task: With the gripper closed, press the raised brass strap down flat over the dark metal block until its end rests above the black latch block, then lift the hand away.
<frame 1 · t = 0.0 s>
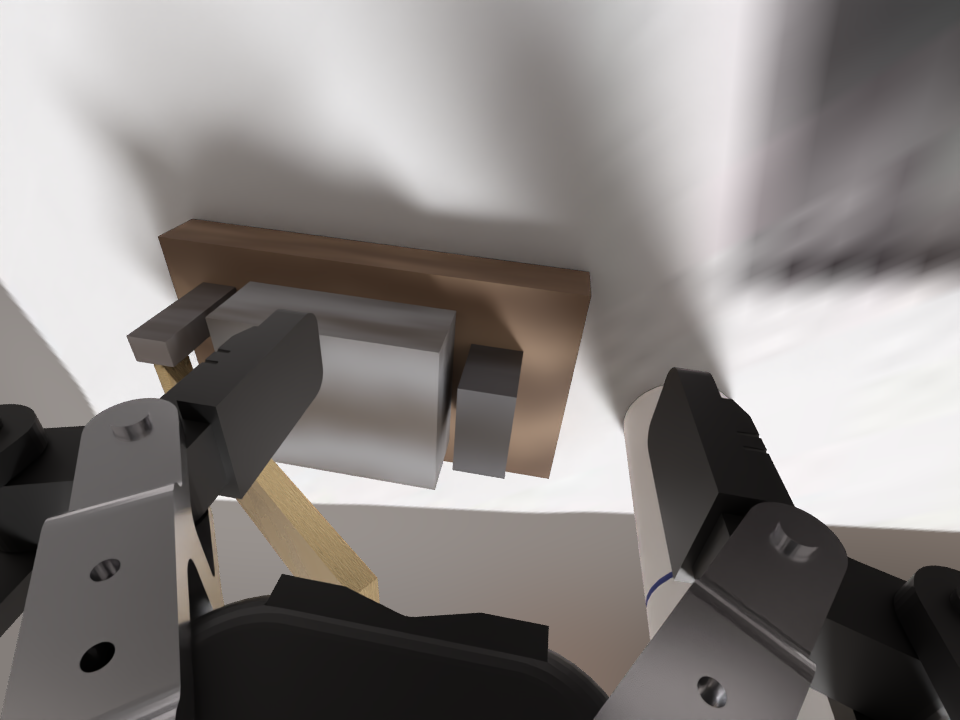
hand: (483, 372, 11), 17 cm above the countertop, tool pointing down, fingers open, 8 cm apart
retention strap: (254, 483, 22), point 13 cm above the countertop, hinge at 35.0°
cylindrical container: (678, 422, 33), on the countertop
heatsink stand: (387, 343, 33), on the countertop
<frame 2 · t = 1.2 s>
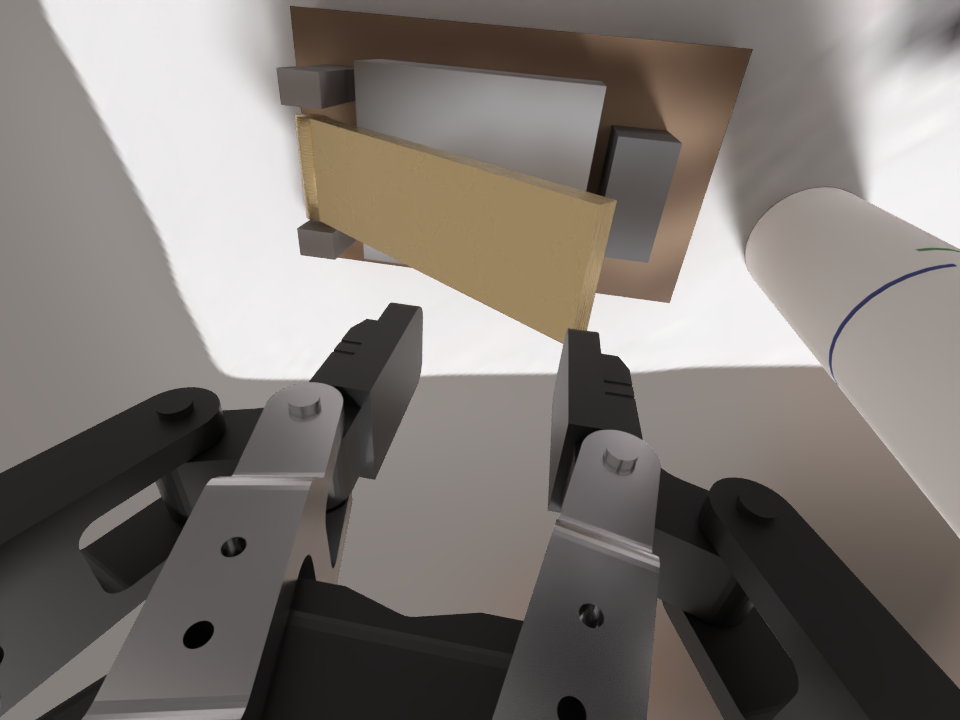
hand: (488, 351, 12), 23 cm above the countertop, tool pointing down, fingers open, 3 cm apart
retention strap: (417, 209, 21), point 13 cm above the countertop, hinge at 35.0°
cylindrical container: (804, 243, 32), on the countertop
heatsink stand: (503, 159, 31), on the countertop
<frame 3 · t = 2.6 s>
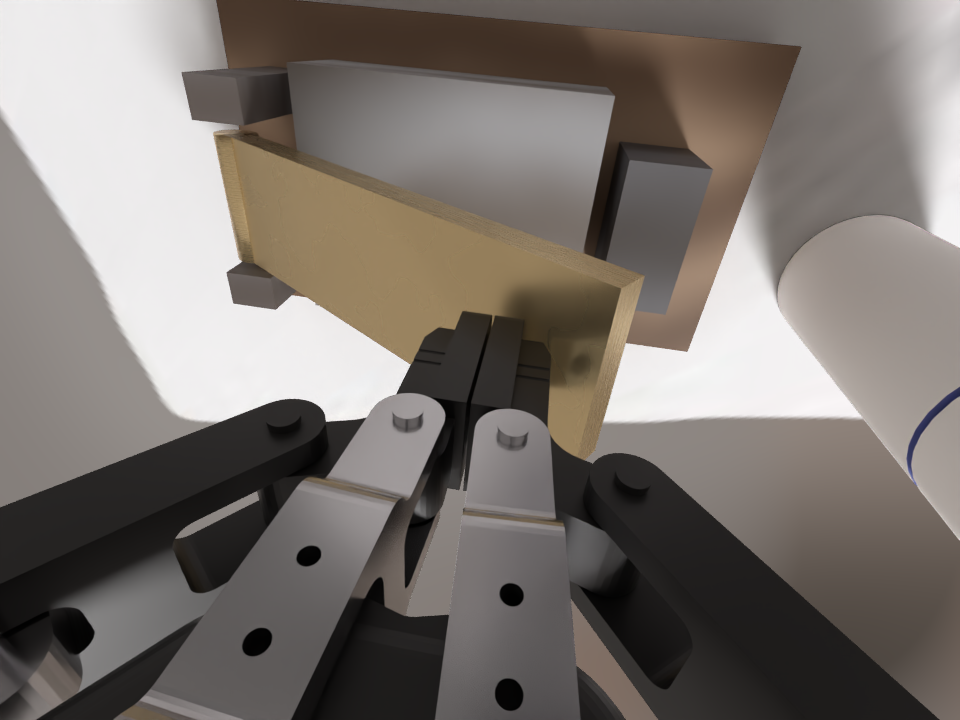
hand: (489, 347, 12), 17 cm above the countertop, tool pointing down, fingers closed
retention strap: (367, 260, 16), point 13 cm above the countertop, hinge at 33.9°, touching gripper
cylindrical container: (849, 280, 26), on the countertop
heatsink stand: (488, 180, 26), on the countertop
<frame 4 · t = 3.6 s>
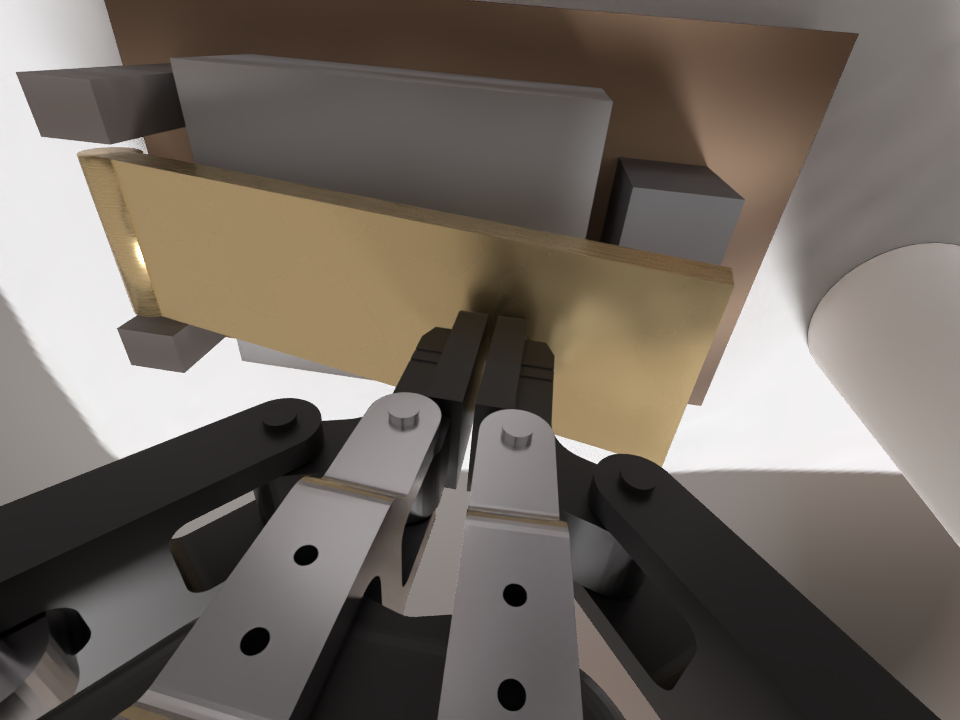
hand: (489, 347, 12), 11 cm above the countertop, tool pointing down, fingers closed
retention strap: (358, 291, 14), point 10 cm above the countertop, hinge at 12.3°, touching gripper
cylindrical container: (896, 318, 22), on the countertop
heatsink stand: (459, 200, 21), on the countertop
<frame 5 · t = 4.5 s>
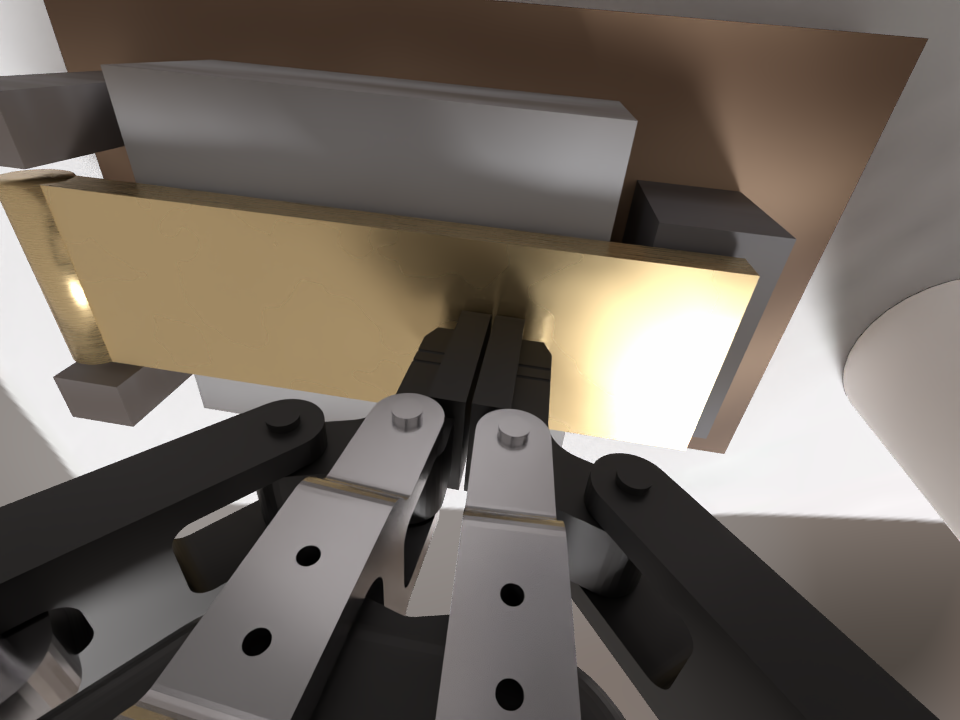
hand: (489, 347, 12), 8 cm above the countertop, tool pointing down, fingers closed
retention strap: (361, 312, 13), point 8 cm above the countertop, hinge at -0.2°, touching gripper
cylindrical container: (943, 357, 19), on the countertop
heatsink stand: (454, 223, 19), on the countertop
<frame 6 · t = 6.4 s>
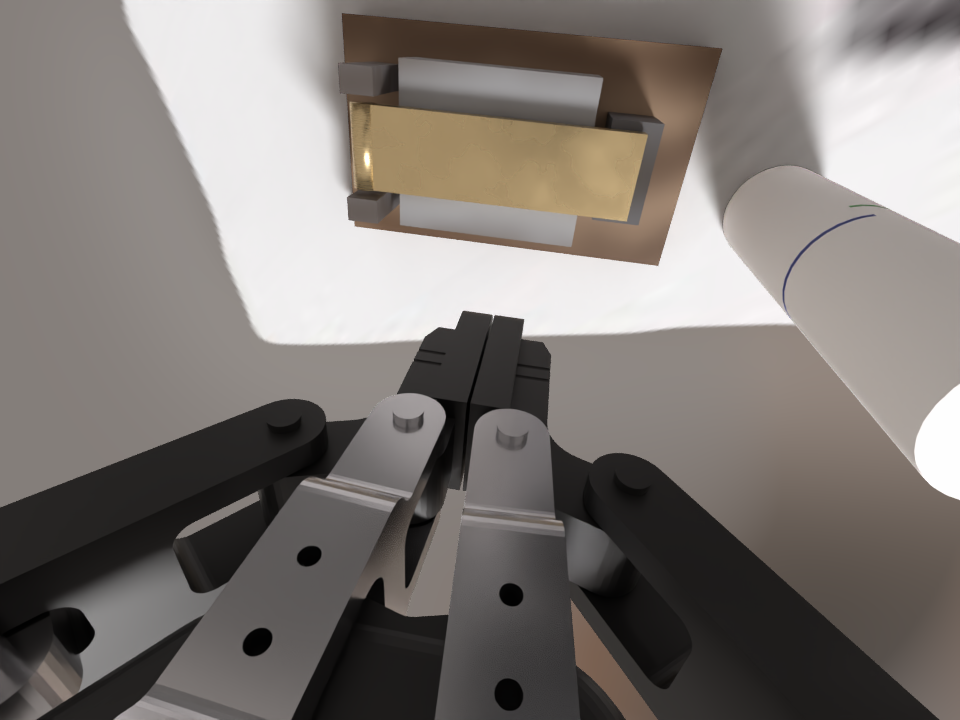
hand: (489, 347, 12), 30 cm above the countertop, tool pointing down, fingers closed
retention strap: (491, 161, 30), point 8 cm above the countertop, hinge at -0.2°
cylindrical container: (773, 214, 37), on the countertop
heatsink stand: (516, 143, 37), on the countertop
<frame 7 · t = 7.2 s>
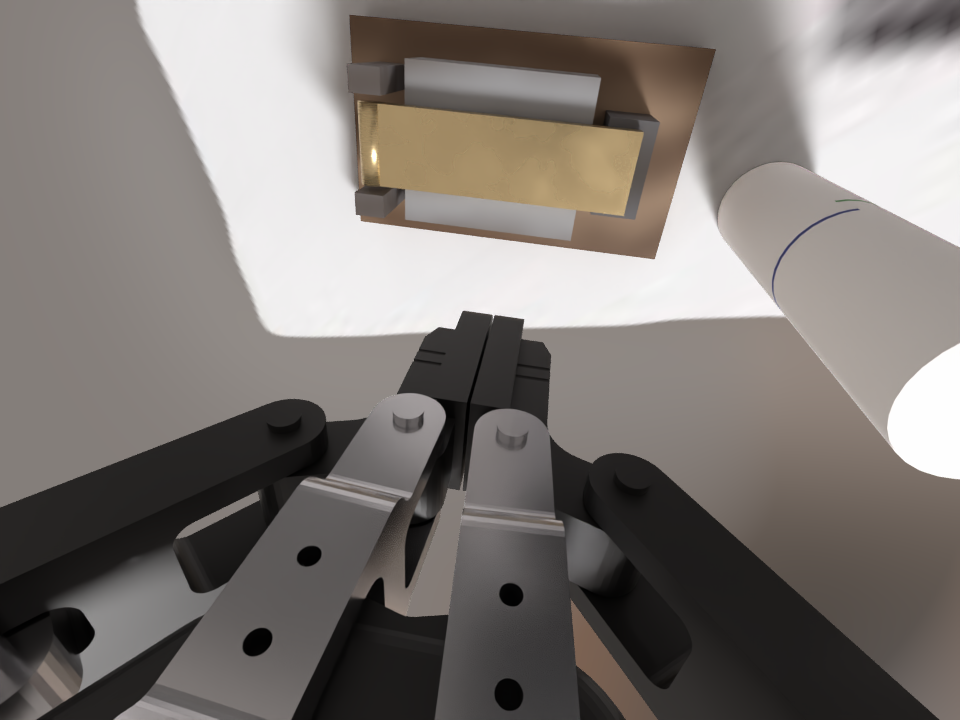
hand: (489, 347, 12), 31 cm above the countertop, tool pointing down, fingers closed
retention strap: (493, 158, 31), point 8 cm above the countertop, hinge at -0.2°
cylindrical container: (766, 209, 38), on the countertop
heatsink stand: (517, 140, 38), on the countertop
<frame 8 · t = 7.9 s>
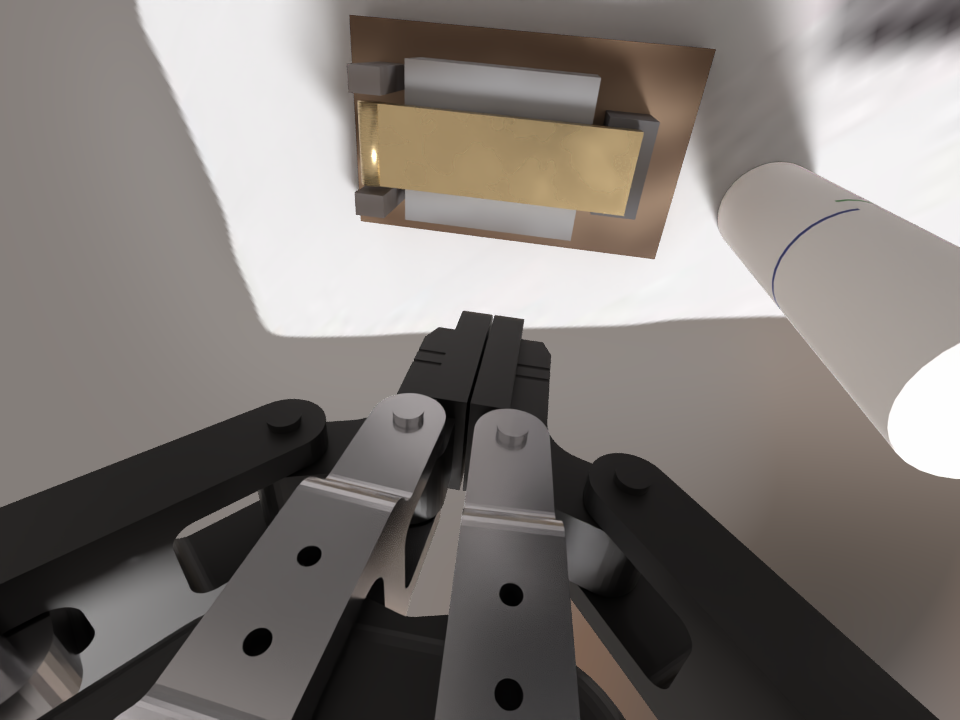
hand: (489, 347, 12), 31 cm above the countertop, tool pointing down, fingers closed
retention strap: (493, 158, 31), point 8 cm above the countertop, hinge at -0.2°
cylindrical container: (766, 209, 38), on the countertop
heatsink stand: (517, 140, 38), on the countertop
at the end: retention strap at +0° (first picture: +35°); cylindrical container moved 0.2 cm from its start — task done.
